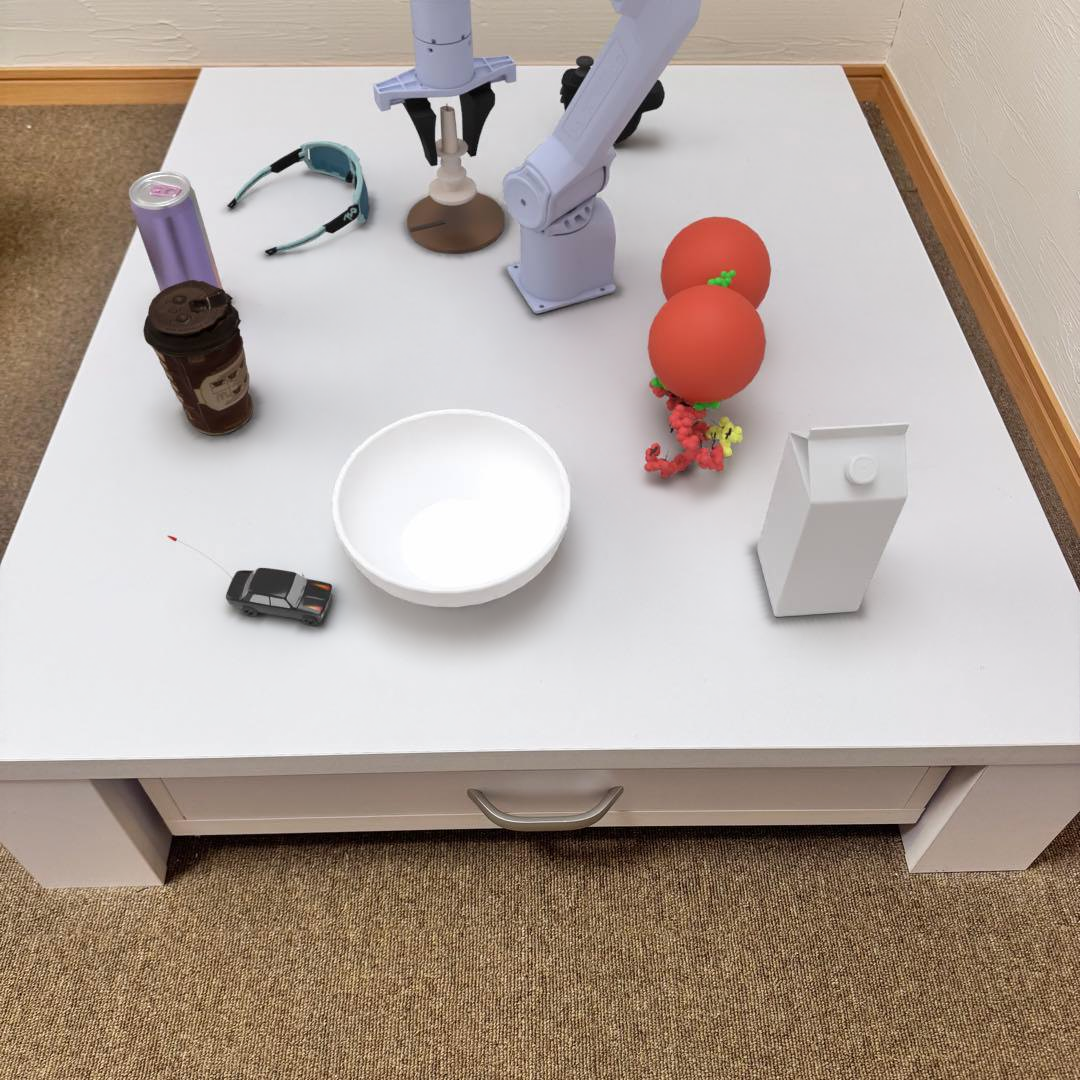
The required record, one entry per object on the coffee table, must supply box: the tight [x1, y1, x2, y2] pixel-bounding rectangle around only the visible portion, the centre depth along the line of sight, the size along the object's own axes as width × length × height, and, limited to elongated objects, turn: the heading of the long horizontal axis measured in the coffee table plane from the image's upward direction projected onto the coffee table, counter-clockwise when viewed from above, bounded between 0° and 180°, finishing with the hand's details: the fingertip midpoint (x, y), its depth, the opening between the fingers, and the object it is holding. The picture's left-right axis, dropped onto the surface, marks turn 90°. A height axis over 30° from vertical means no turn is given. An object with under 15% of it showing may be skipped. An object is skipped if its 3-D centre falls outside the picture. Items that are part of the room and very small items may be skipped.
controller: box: [559, 55, 666, 145], centre depth 126 cm, size 4×12×10 cm, turn 78°
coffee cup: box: [142, 280, 254, 436], centre depth 97 cm, size 9×8×13 cm
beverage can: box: [128, 170, 224, 292], centre depth 105 cm, size 6×6×15 cm
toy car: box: [167, 535, 333, 627], centre depth 86 cm, size 4×12×8 cm, turn 80°
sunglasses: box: [226, 140, 370, 256], centre depth 120 cm, size 14×15×5 cm
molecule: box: [643, 216, 772, 479], centre depth 98 cm, size 25×11×15 cm, turn 173°
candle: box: [428, 102, 478, 205], centre depth 112 cm, size 5×5×10 cm
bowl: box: [331, 408, 572, 608], centre depth 90 cm, size 20×20×7 cm
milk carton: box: [756, 421, 910, 618], centre depth 83 cm, size 7×7×19 cm
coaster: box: [406, 192, 506, 255], centre depth 120 cm, size 11×11×1 cm
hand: (451, 156), depth 113 cm, fingers closed on candle, 4 cm apart
